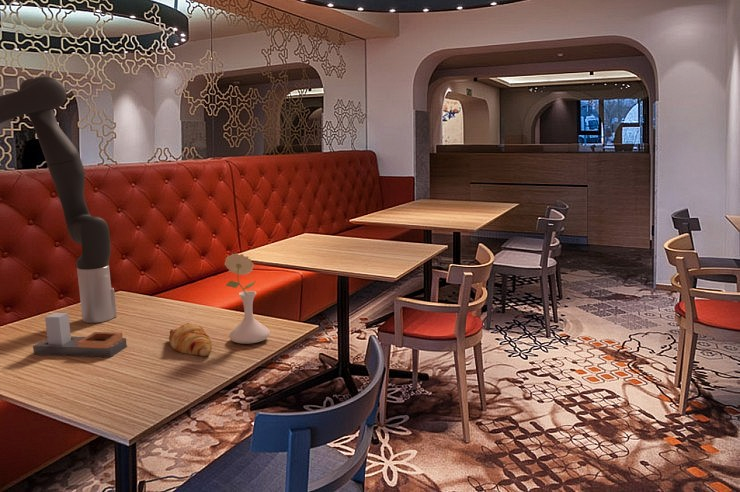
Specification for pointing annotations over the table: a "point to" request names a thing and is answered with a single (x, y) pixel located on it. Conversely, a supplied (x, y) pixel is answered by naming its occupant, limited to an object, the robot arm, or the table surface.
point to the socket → (85, 346)
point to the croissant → (190, 340)
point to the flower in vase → (245, 303)
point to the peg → (58, 328)
